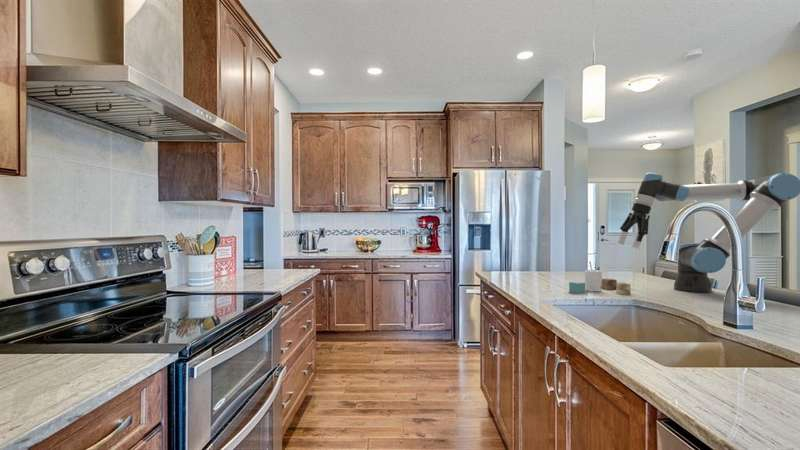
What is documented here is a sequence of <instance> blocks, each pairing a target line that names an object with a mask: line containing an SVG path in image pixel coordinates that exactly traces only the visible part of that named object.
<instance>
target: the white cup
mask: <svg viewBox="0 0 800 450" xmlns="http://www.w3.org/2000/svg"><path fill="white" fill-rule="evenodd" d="M602 279H603V270H599V269H585V270H584V283H585V291H587V292H593V291H599V292H601V291H602V288H601V285H602Z"/></svg>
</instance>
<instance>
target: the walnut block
mask: <svg viewBox="0 0 800 450" xmlns="http://www.w3.org/2000/svg"><path fill="white" fill-rule="evenodd" d="M616 282H618V280H617V279H614V278H602V285H601V289H603V288H604V289H603V290H606V289H607V291H611V290H613V291H614V290H615V291H617V285H616Z"/></svg>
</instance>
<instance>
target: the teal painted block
mask: <svg viewBox="0 0 800 450" xmlns="http://www.w3.org/2000/svg"><path fill="white" fill-rule="evenodd" d="M568 285H569V288H568V289H569V290H568V292H569V293H571V292H572V293H571V294H576V293H581V294H586V284H585V282H581V281H570V282H569V283H568Z"/></svg>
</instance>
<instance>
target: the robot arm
mask: <svg viewBox="0 0 800 450" xmlns="http://www.w3.org/2000/svg"><path fill="white" fill-rule="evenodd" d="M799 195H800V178H798V177H797V176H796V175H795V174H792V173H786V172H783V173H782V172H779V173H774V174H771V175H765V176H761V177H757V178H753V179H745V180H744V179H743V180H738V181H737V182H726V183H705V184H703V183H702V184H701V183H700V184H699V183H698V184H680V183H674V182H671V181H666V180H665V179H663V175H662V174H658V173H655V172H647V173H645V174H644V175H643V178H642V180H641V183H640V186H639V189H638V191H637V195H636V196H635V200H634V203H633V204H632V208H631V210H632V211H633V213H632V212H629V214H628V215H627V217H626V219H625V220H624V222H623V223H622V225H621V226H620V228H619V229H620V230H621V232H620V235H619V238H618V241H617V244H619V245H624V244H625V242H626V239H627V237H628V234H629V230H631V228H633V226H634V225H635V224H637V233H636V236H635V238H634V240H633V243H632V246H631V247H632V248H634V249H640V246H641V243H642V240H643V237H644V236H647V235H648V233H649V220H650V215H649V214H650V212H651V210H652V206H653V204H654V202H655V200H656V201H658V202H666V201H671V202H672V201H676V202H684V201H692V200H693V201H694V200H695V201H696V200H699V201H700V200H727V199H729V200H731V199H737V200H738V201H746V202H745V203H744V204H743V205H742V206H741V207H740V209H738V210H737V211H736V212H735V213H734V214H733V215H732V216H733V218H734V219H735V221H736V222H737V225H738V227H739V230H740V232H741V236H742V239H743V238H744V237H745V236H746V235H747V234H748V233H749V232H750V231H751V230H752V229H753V228H754V227H755V226H756V225H757V224H759V222H761V220H762V219H763V218H764V217H766V216H767V214H769V213H770V212H771V211H773V210H778V209H780V208H781V207H782V206H783V205H784V204H786V202H787V201H790V200H793V199H795V198H796V197H798V196H799ZM679 245H680V249H679V260H678V259H677V276H676V277H675V280H674V282H673V289H674V290H677V291H684V292H689V293H712V292H713V286H712V283H711V282H710V279H709V277H708V274H709V273H710V274H713V273H714V274H715V273H717V272H719V271H720V270H722V269H723V268H724V267H725V266H726V263H727V261H726V260H727V259H728V258H729V257H730V256H731V251H730V250H731V249H732V248H731V245H730V239H729V236H728V232H727V230H726V227H725V226H724V224H723V225H722V226H721V227H720V228H719V229H717V231H716V232H715V233H714V234H713V235H712V236H711V237H710V238H704V239H703V240H702V241H701V242H700V243H698V242H697V243H696V242H693V243H692V242H691V243H680V244H679Z"/></svg>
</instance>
